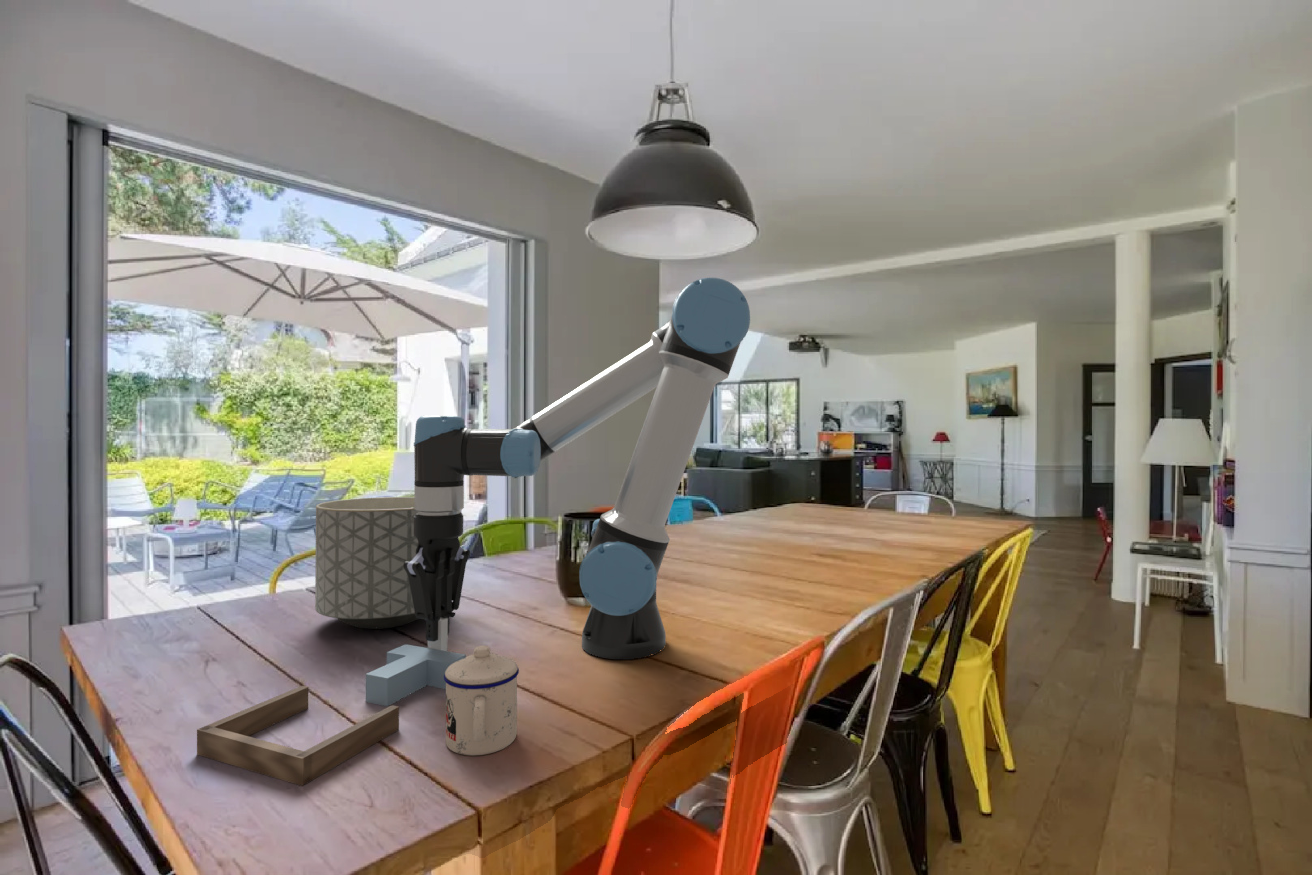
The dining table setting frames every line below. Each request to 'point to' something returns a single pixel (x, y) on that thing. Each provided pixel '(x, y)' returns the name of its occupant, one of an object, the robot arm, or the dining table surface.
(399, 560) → the planter
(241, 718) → the frame
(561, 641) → the dining table surface
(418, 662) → the t block
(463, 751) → the teacup with lid
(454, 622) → the dining table surface
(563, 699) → the dining table surface
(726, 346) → the robot arm
